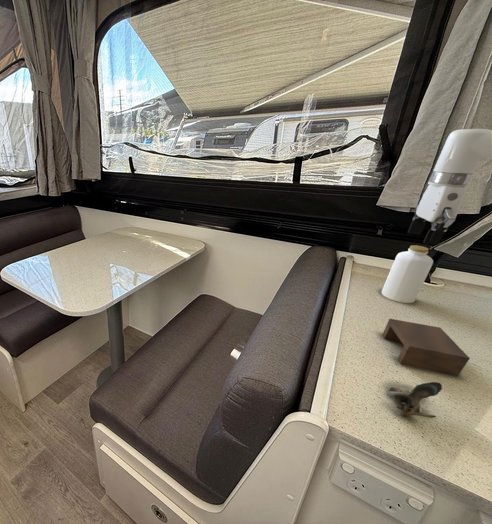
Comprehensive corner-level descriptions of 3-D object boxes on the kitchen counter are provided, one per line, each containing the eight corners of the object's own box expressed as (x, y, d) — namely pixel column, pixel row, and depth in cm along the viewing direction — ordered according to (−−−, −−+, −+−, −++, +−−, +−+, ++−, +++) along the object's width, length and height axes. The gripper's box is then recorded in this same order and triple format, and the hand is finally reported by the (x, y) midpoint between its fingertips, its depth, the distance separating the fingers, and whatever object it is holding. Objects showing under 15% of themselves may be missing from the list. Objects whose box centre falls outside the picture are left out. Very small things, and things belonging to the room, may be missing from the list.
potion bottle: (392, 290, 93) (413, 241, 86) (420, 303, 86) (446, 251, 79) (374, 293, 91) (394, 244, 84) (401, 307, 84) (425, 254, 77)
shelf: (429, 346, 68) (440, 327, 65) (456, 379, 59) (470, 358, 56) (381, 337, 71) (389, 318, 69) (398, 366, 62) (409, 346, 60)
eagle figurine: (445, 436, 46) (451, 399, 51) (428, 402, 46) (435, 367, 50) (389, 423, 53) (399, 391, 57) (373, 393, 52) (384, 363, 57)
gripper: (490, 184, 65) (456, 250, 72) (448, 176, 79) (423, 231, 86) (450, 182, 67) (420, 246, 74) (416, 175, 82) (394, 229, 89)
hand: (421, 238), depth 80 cm, fingers open, 9 cm apart
